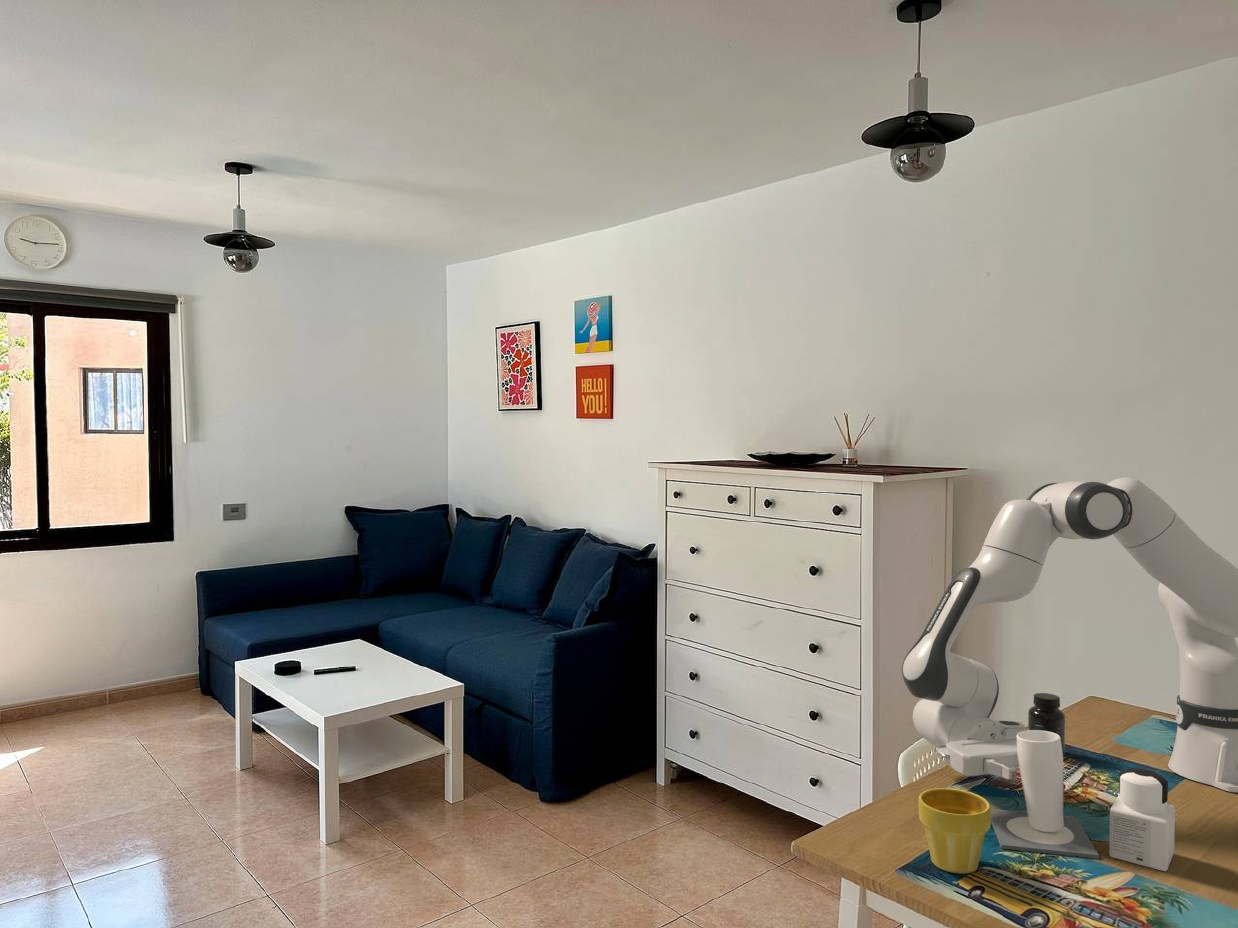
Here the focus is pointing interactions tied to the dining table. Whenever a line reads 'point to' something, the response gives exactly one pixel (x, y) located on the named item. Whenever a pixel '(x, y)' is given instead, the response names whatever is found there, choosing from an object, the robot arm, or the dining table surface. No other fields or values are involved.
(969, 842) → the plant pot
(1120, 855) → the container
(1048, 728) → the supplement bottle
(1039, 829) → the drinking glass
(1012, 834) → the mat
